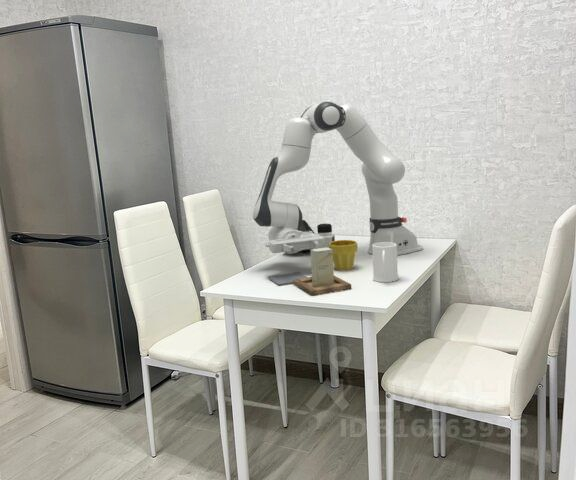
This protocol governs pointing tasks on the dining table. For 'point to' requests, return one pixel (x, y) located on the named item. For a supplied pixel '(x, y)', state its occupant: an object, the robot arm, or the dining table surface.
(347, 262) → the plant pot
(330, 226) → the medicine bottle
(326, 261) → the skincare box
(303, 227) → the squash
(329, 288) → the walnut tray
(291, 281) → the mat
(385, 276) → the mug
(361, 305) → the dining table surface
